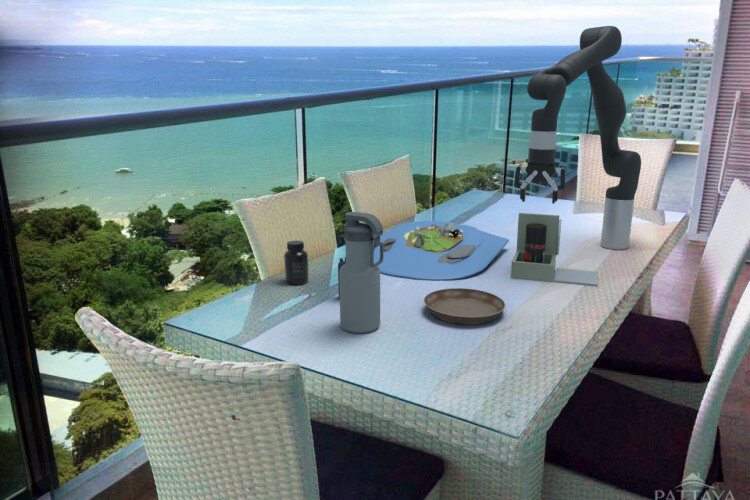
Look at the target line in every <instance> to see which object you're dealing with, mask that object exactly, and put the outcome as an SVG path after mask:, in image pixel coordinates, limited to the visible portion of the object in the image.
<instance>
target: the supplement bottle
mask: <svg viewBox="0 0 750 500" xmlns="http://www.w3.org/2000/svg"><path fill="white" fill-rule="evenodd" d="M286 249H287V250H286V251H285V253H284V255H283V257H284V259H283V261H284V274H285V275H284V276H285V279H284V280H285V282H286V284H288V285H291V286H300V285H304V284H305V285H306V284H307V283H308V282H309V278H310V277H309V276H310V275H309V273H310V272H309V256H308V255H309V254H308V252H307V251H306V250H305V244H304V241H302V240H290V241H287V242H286Z"/></svg>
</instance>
